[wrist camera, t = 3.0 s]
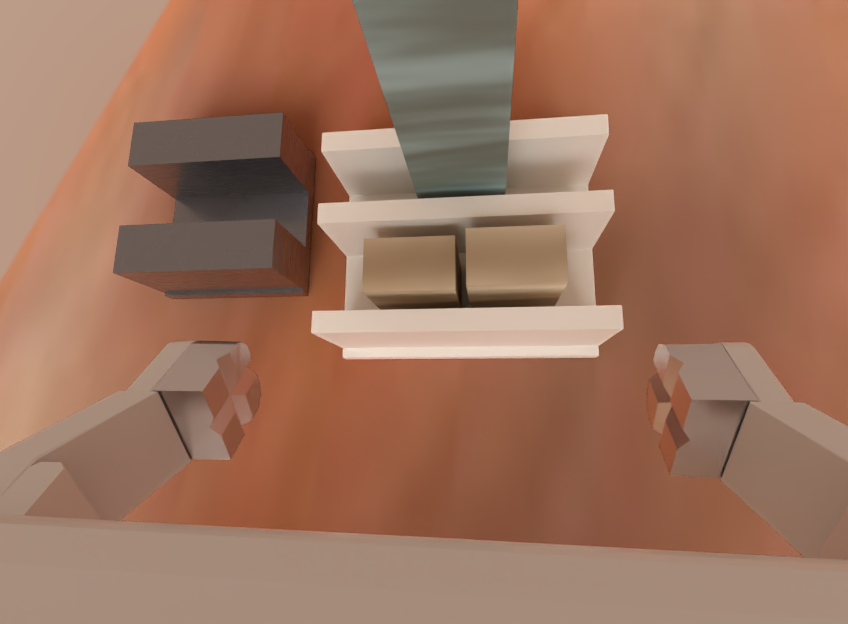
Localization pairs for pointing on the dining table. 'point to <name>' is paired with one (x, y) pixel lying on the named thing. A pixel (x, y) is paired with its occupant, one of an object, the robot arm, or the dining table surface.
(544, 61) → the dining table surface
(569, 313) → the white rack
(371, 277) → the birch offcut
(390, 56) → the teal board
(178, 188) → the charcoal holder
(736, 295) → the dining table surface
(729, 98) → the dining table surface
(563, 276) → the pine offcut
